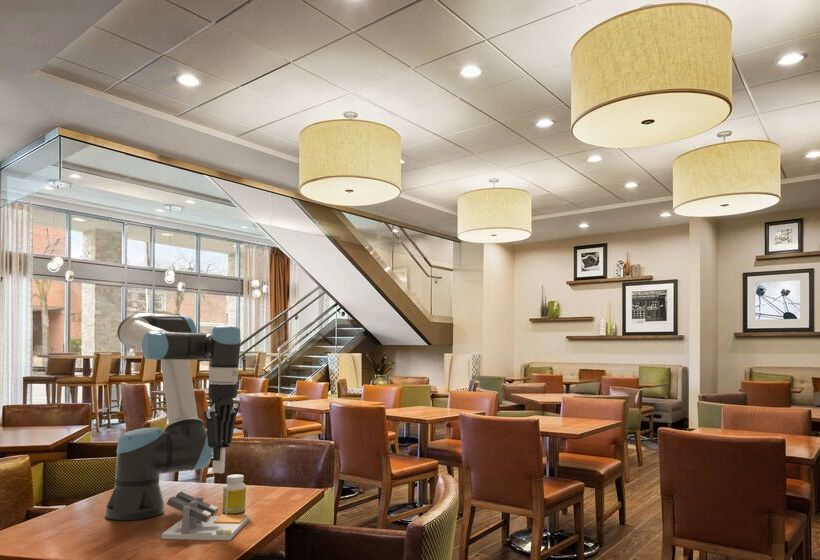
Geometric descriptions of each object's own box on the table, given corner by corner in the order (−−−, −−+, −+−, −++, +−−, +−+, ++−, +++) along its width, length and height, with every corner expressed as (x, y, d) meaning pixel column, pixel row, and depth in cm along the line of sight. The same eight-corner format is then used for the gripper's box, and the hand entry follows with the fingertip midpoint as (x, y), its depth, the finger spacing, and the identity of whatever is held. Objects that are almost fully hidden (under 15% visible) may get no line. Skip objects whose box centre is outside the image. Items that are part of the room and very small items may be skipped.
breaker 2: (174, 499, 159) (177, 492, 159) (179, 496, 162) (181, 490, 162) (212, 516, 158) (215, 510, 159) (216, 513, 162) (219, 507, 162)
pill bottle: (249, 514, 175) (251, 475, 176) (234, 520, 169) (236, 478, 171) (232, 512, 178) (234, 472, 179) (217, 517, 172) (219, 476, 173)
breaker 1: (166, 504, 153) (169, 497, 154) (171, 501, 157) (174, 494, 157) (205, 522, 153) (208, 516, 153) (209, 519, 156) (212, 512, 156)
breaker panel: (161, 538, 151) (163, 507, 152) (186, 519, 169) (188, 491, 170) (230, 540, 151) (231, 508, 152) (248, 520, 169) (249, 492, 170)
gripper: (221, 385, 159) (216, 478, 156) (248, 382, 171) (243, 469, 168) (196, 383, 161) (191, 476, 158) (225, 381, 173) (220, 467, 171)
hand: (218, 472), depth 163 cm, fingers closed
